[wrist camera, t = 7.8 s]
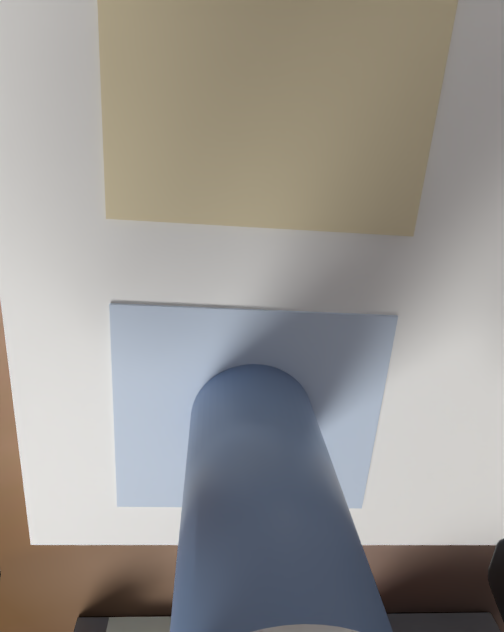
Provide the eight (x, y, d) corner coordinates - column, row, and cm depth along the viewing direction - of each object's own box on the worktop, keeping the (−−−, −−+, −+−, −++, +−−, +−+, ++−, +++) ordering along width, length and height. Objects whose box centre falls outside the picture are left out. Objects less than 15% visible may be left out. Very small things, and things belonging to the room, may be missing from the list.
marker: (322, 362, 12) (505, 742, 4) (308, 473, 13) (435, 928, 6) (187, 358, 12) (132, 760, 4) (185, 472, 13) (139, 951, 5)
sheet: (724, -70, 10) (750, -80, 9) (516, 534, 15) (525, 547, 15) (-47, -163, 8) (-63, -180, 8) (35, 534, 14) (29, 547, 14)
